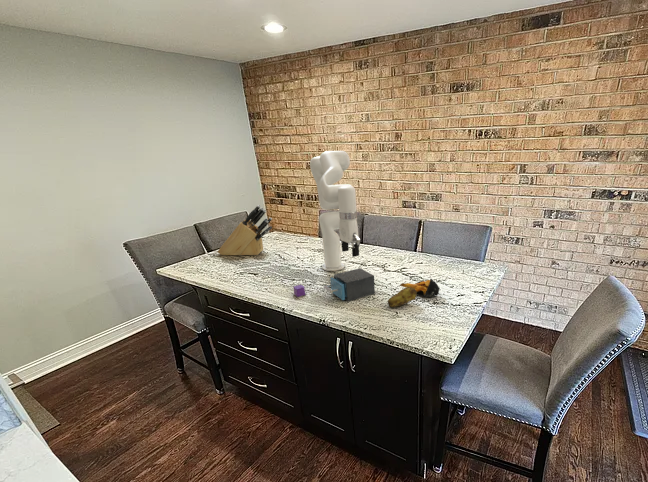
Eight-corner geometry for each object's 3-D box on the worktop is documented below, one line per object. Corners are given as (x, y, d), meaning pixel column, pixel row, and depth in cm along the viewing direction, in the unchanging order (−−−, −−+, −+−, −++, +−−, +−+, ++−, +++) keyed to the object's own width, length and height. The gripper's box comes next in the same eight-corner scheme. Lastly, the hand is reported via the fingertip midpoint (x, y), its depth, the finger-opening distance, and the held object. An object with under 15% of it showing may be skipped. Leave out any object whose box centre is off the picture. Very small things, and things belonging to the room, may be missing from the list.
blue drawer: (333, 303, 149) (332, 288, 146) (322, 294, 157) (320, 280, 154) (368, 292, 158) (367, 278, 155) (355, 285, 167) (355, 271, 164)
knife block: (272, 255, 216) (264, 207, 204) (217, 256, 217) (207, 207, 205) (277, 250, 227) (270, 203, 214) (225, 250, 227) (216, 204, 215)
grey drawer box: (347, 301, 152) (346, 282, 149) (335, 292, 162) (333, 274, 158) (374, 293, 160) (374, 275, 156) (360, 285, 169) (360, 268, 166)
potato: (386, 301, 151) (386, 285, 148) (415, 300, 152) (415, 284, 149) (388, 310, 144) (387, 293, 141) (417, 309, 144) (418, 292, 141)
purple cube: (294, 294, 160) (293, 286, 159) (302, 292, 163) (301, 284, 161) (297, 297, 157) (296, 289, 156) (305, 294, 159) (304, 287, 158)
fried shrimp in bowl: (439, 293, 148) (401, 278, 149) (432, 307, 156) (396, 293, 158) (444, 278, 154) (407, 264, 155) (437, 293, 162) (402, 279, 164)
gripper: (331, 214, 151) (334, 250, 158) (350, 220, 138) (352, 259, 144) (346, 212, 155) (348, 247, 162) (365, 217, 142) (367, 256, 148)
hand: (350, 253), depth 153 cm, fingers open, 9 cm apart
